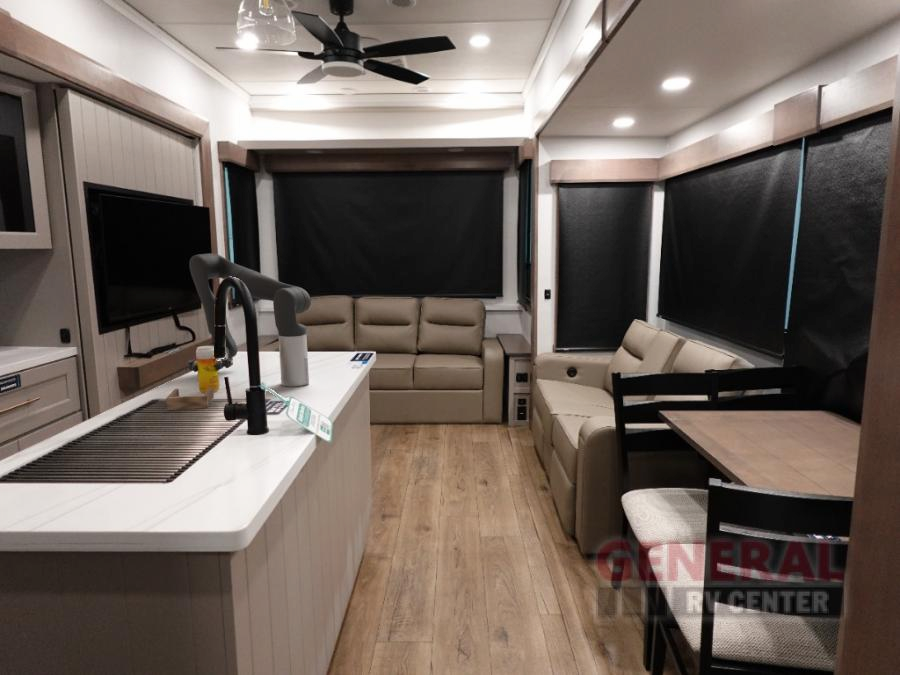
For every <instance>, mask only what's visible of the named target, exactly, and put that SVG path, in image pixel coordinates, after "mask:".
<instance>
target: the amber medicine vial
mask: <svg viewBox="0 0 900 675" xmlns="http://www.w3.org/2000/svg"><path fill="white" fill-rule="evenodd" d="M195 357H196V361H197V379H198V380H197V382H198V391H199V392H200V393H201V395H204V394H205V392H206V391H207V390H208V388H209V387H213V393H214V394H215V393H218V392H219V390H220V380H219V378H220V377H219V371H216V364H217V359H215V357H214V346H208V345H202V346H198V347H196V350H195Z"/></svg>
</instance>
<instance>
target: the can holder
mask: <svg viewBox="0 0 900 675" xmlns="http://www.w3.org/2000/svg"><path fill="white" fill-rule="evenodd" d="M179 390H180V389H179V388H174V389H173V390H172V392H171V393H170V394H169V395H168V396H166V398H165V400H166V401H165V402H166V411H176V410H178V411H179V410H189V409H190V410H191V409H192V410H193V409H205V408H209V406H210V404H211V403H212V401H213V400H214V398H215V397H214V396H215V393H213V387H209V388H208V390H207V391H206V392H205V394H201V395H186V396H180V392H179Z"/></svg>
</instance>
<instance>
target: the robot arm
mask: <svg viewBox="0 0 900 675" xmlns="http://www.w3.org/2000/svg"><path fill="white" fill-rule="evenodd" d="M189 271H190V274H191V277H192V280H193V283H194V285H195V286H194V287H195V288H196V291H197V293H198V296H199V299H200V302H201V304H202V307H203V311H204V315H205V320H206V325H207V330H208V333H209V335H212V336H215V335H214V331H213V329H214V304H215V297H216V296H215V294H214V293H213V291H212V290H211V287H210V284H209V280H211V279H223V280H225V278H227V277H229V276H232V277H236V278H239V279H240V280H242V281H243V282H244V283H245V284H246V286H247V287H248V289H249V291H250V293H251V295H252V297H251V298H252V299H256V300H262V301H263V300H264V301H271V302H273V304H272V305H273V315H274V323H275V327H276V330H277V334H278V348H279V351H278V352H279V366H280V368H279V370H280V381H281V382H280V383H281V384H280V385H282V386H283V387H301V386H305V385H309V384H310V375H309V374H310V373H309V357H308V344H307V343H308V342H307V340H308V339H307V327H306V325H304V324H301V323H300V322H298V319H297V315H299V314H302V313H305V312H306V311H308V310H309V308H310V307H311V304H312V301H311V300H312V299H311V296H310V294H309V293H308V292H307V291H306V290H305V289H304V288H302V287H300V286H296V285H292V284H288V283H284V282H281V281H280V280H279V281H278V280H276V279H274V278H272V277H270V276H267V275H265V274H262V273H260V272H258V271H256V270H254V269H250V268H248V267H245V266H242V265H239V264H237V263H235V262H233V261H230V260H229V259H227V258H225V257H223V256H222V255H220V254H219V253H218V254H217V253H215V252H214V253H213V252H212V253H202V254H201V253H200V254H195V255H193V256H191V257H190V260H189ZM214 341H215V340H213V341H211V342H209V343H208V344H207V346H214ZM238 349H239V348H238V345H237V344H236V341H235V339H234V338H233V336H232V334H231V331H230V329H229V324H228V319H227V318H226V357H225V358H224V359H217V364H216V371H218V372H219V371H220V370H222V369H224V368H225V369H229V368H231V367H232V366H233V365H234V357H236V355H237V354H238ZM188 371H192V372H194V373H198V371H197V360H195V359H194V358H193V359H192V358H190V359H189V360H188Z"/></svg>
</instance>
